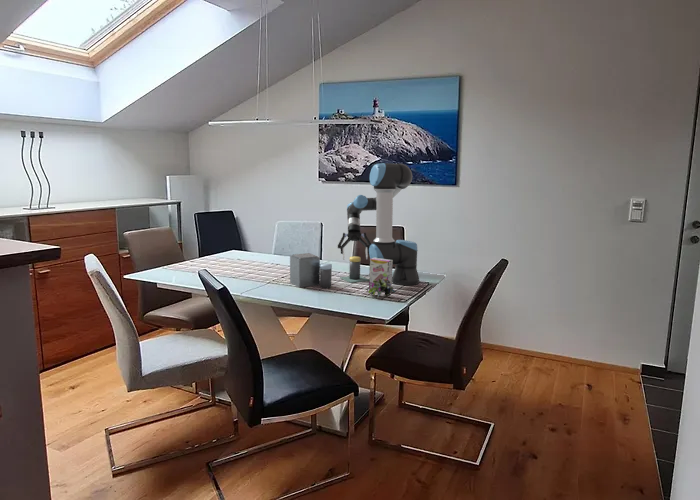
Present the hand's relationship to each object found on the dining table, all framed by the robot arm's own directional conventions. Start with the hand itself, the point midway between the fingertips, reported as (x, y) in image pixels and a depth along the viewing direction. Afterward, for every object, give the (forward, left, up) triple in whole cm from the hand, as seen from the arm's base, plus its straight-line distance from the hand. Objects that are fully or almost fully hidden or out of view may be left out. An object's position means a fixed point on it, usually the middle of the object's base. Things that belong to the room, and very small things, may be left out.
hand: (355, 258), depth 300 cm
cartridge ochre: (-10, +6, -9) cm, 15 cm away
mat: (-10, +6, -10) cm, 15 cm away
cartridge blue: (-17, +28, -10) cm, 35 cm away
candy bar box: (-36, +6, -10) cm, 38 cm away
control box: (-6, +35, -10) cm, 37 cm away
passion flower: (-48, +14, -10) cm, 51 cm away
